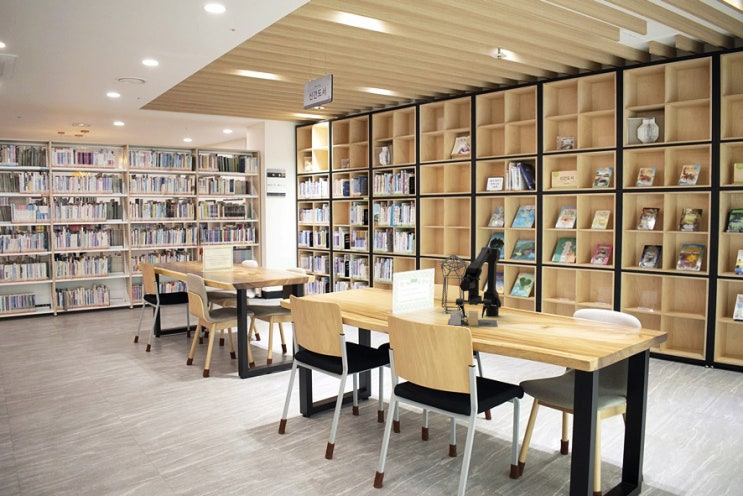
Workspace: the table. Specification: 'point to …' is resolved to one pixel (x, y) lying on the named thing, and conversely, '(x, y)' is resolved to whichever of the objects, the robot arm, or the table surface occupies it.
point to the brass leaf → (472, 318)
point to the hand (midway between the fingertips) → (473, 317)
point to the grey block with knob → (456, 317)
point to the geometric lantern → (453, 278)
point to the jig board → (480, 323)
